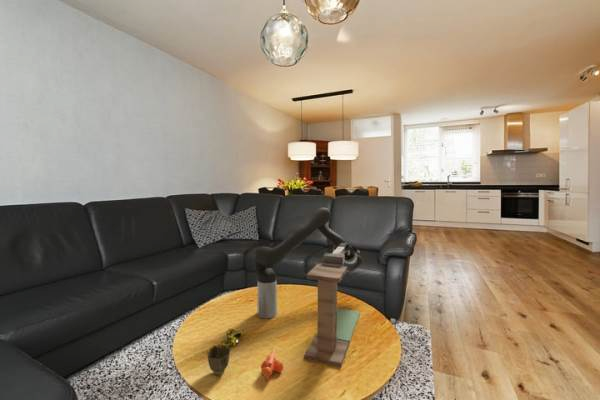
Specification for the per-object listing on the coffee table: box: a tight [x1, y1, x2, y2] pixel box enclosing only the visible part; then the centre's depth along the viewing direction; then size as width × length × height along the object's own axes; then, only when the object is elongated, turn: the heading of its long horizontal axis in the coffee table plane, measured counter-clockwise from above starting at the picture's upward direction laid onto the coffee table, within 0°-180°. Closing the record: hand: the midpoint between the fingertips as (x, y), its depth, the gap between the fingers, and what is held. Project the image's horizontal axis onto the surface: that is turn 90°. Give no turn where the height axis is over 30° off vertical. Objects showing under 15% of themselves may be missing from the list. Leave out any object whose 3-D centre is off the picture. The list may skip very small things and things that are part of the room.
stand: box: [303, 263, 350, 368], centre depth 109 cm, size 14×14×32 cm
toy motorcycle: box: [219, 328, 244, 347], centre depth 117 cm, size 12×4×7 cm
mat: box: [316, 307, 361, 344], centre depth 131 cm, size 27×14×1 cm, turn 159°
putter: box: [322, 242, 349, 266], centre depth 126 cm, size 24×8×3 cm, turn 160°
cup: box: [206, 344, 231, 376], centre depth 98 cm, size 8×7×8 cm
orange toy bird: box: [260, 349, 284, 381], centre depth 99 cm, size 5×8×12 cm
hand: (342, 245), depth 133 cm, fingers closed on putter, 3 cm apart
